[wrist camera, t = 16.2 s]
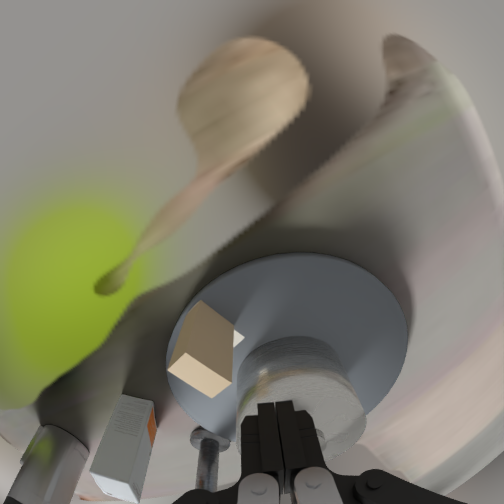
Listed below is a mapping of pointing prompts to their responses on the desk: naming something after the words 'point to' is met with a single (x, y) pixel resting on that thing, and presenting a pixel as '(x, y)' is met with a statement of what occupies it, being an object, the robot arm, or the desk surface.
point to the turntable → (283, 330)
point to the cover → (302, 389)
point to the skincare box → (126, 449)
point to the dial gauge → (208, 457)
